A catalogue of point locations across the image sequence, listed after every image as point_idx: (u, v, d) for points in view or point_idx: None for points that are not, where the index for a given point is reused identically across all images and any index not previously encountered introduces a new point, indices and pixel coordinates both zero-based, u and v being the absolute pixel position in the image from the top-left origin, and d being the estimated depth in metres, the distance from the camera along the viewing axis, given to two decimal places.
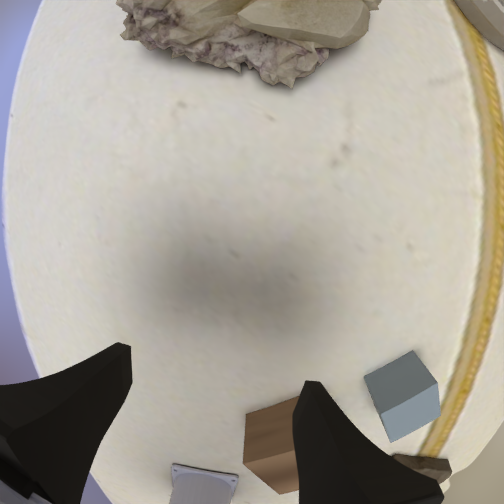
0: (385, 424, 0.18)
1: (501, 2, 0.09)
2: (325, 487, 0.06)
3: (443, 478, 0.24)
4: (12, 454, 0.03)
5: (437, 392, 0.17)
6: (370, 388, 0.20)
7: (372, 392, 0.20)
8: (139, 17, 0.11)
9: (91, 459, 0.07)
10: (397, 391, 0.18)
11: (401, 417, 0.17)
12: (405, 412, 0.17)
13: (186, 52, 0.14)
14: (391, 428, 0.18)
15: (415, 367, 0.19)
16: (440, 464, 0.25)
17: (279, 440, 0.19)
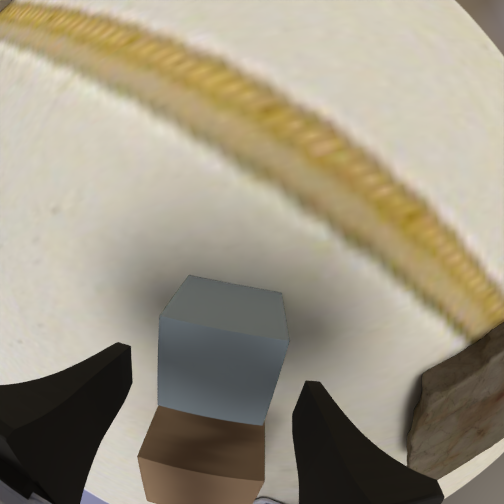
0: (192, 412, 0.12)
1: None
2: (325, 487, 0.06)
3: None
4: (12, 454, 0.03)
5: (190, 325, 0.10)
6: None
7: None
8: None
9: (91, 459, 0.07)
10: None
11: (196, 392, 0.11)
12: (189, 384, 0.11)
13: None
14: (214, 411, 0.12)
15: None
16: None
17: None
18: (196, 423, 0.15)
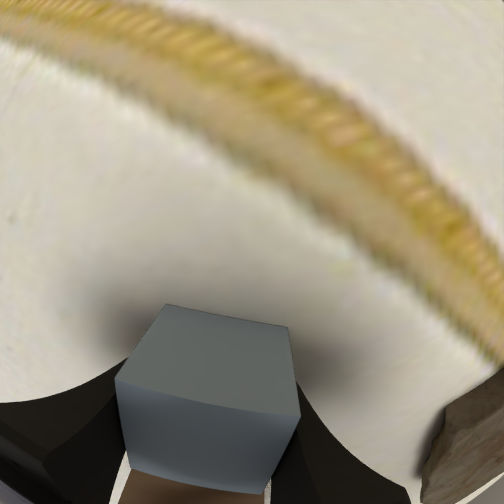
0: (173, 479, 0.08)
1: None
2: (290, 487, 0.06)
3: None
4: (47, 476, 0.03)
5: (157, 394, 0.07)
6: None
7: None
8: None
9: (117, 469, 0.07)
10: None
11: (176, 463, 0.07)
12: (165, 454, 0.07)
13: None
14: (199, 481, 0.08)
15: None
16: None
17: None
18: None
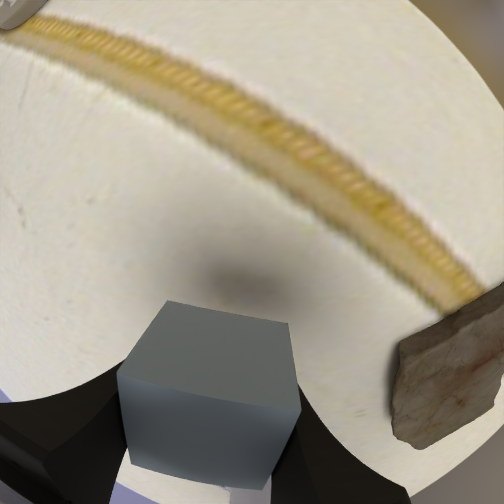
0: (174, 475, 0.08)
1: None
2: (290, 487, 0.06)
3: None
4: (47, 477, 0.03)
5: (159, 389, 0.07)
6: None
7: None
8: None
9: (117, 469, 0.07)
10: None
11: (177, 458, 0.07)
12: (167, 449, 0.07)
13: None
14: (200, 477, 0.08)
15: None
16: (497, 296, 0.18)
17: None
18: None
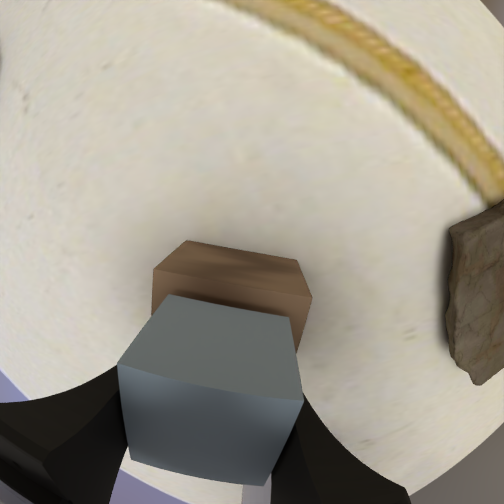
0: (174, 470, 0.08)
1: None
2: (290, 487, 0.06)
3: None
4: (47, 477, 0.03)
5: (160, 379, 0.07)
6: None
7: None
8: None
9: (117, 469, 0.07)
10: None
11: (177, 453, 0.07)
12: (167, 444, 0.07)
13: None
14: (201, 472, 0.08)
15: None
16: None
17: None
18: (224, 256, 0.16)
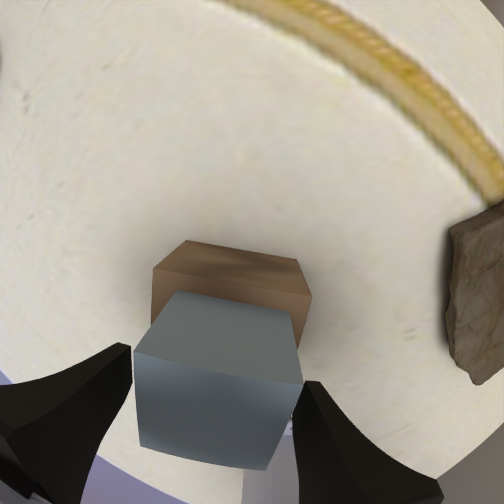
0: (181, 456, 0.09)
1: None
2: (325, 487, 0.06)
3: None
4: (12, 454, 0.03)
5: (173, 365, 0.08)
6: None
7: None
8: None
9: (91, 459, 0.07)
10: None
11: (186, 437, 0.08)
12: (176, 428, 0.08)
13: None
14: (207, 457, 0.09)
15: None
16: None
17: None
18: (223, 256, 0.16)
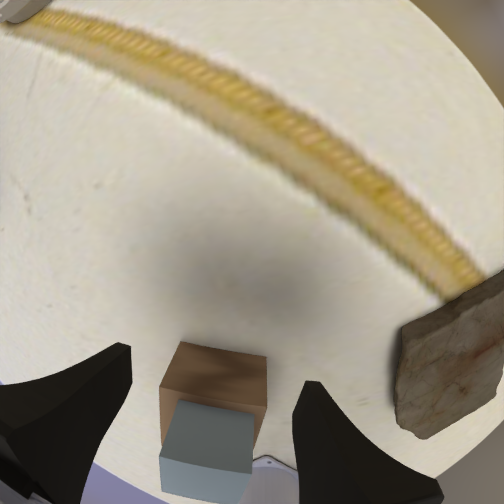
0: (187, 496, 0.13)
1: None
2: (325, 487, 0.06)
3: None
4: (12, 454, 0.03)
5: (181, 463, 0.12)
6: None
7: None
8: None
9: (91, 459, 0.07)
10: None
11: (189, 489, 0.13)
12: (183, 485, 0.12)
13: None
14: (202, 498, 0.13)
15: None
16: (497, 283, 0.19)
17: None
18: (209, 363, 0.20)
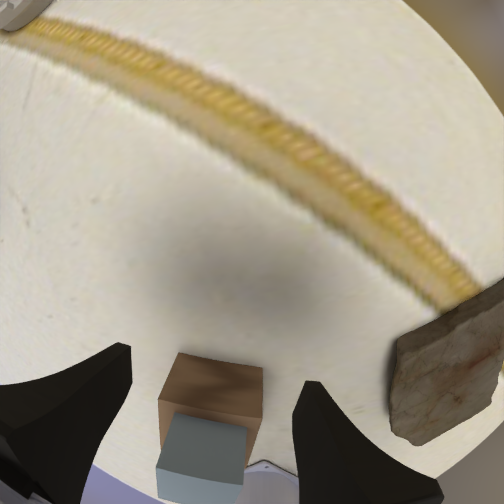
0: (182, 503, 0.13)
1: None
2: (325, 487, 0.06)
3: None
4: (12, 454, 0.03)
5: (176, 474, 0.12)
6: None
7: None
8: None
9: (91, 459, 0.07)
10: None
11: (184, 497, 0.13)
12: (179, 493, 0.13)
13: None
14: None
15: None
16: (494, 295, 0.19)
17: None
18: (206, 374, 0.20)
